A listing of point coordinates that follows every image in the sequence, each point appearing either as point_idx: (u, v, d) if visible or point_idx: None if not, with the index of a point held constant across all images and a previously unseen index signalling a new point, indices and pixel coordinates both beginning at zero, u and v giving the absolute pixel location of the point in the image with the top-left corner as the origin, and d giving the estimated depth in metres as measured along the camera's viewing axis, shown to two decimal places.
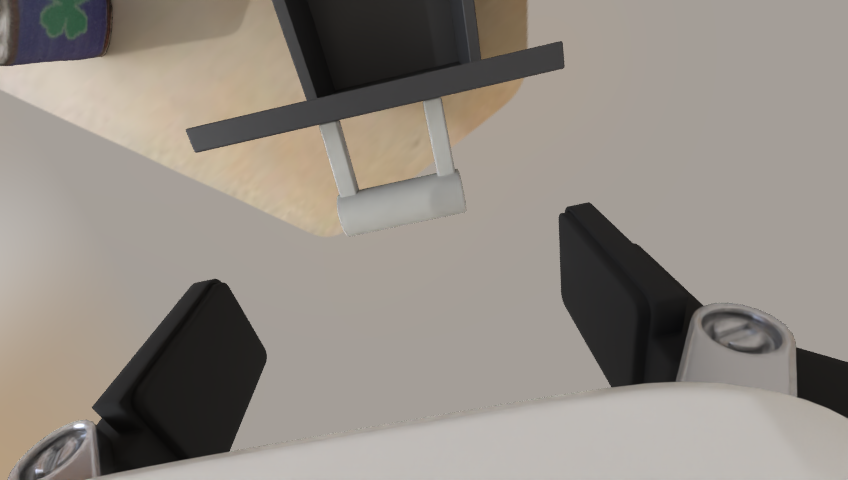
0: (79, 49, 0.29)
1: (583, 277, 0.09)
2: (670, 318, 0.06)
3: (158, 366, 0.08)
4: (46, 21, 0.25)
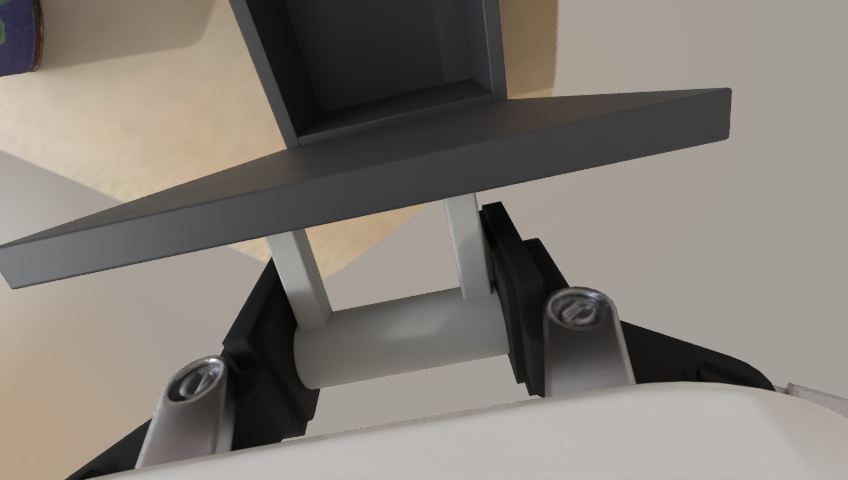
0: None
1: (490, 268, 0.10)
2: (533, 300, 0.07)
3: (269, 312, 0.08)
4: None
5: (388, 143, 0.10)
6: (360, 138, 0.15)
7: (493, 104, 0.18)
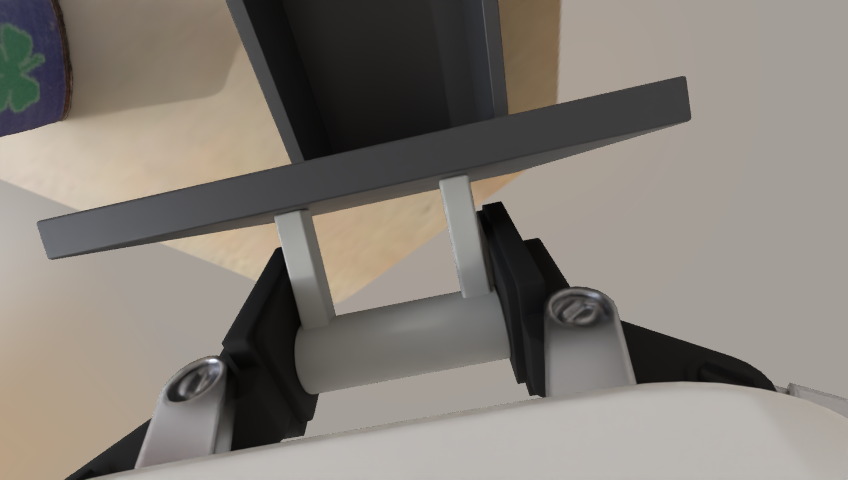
0: (31, 120, 0.24)
1: (490, 268, 0.10)
2: (533, 300, 0.07)
3: (268, 312, 0.08)
4: None
5: None
6: None
7: None
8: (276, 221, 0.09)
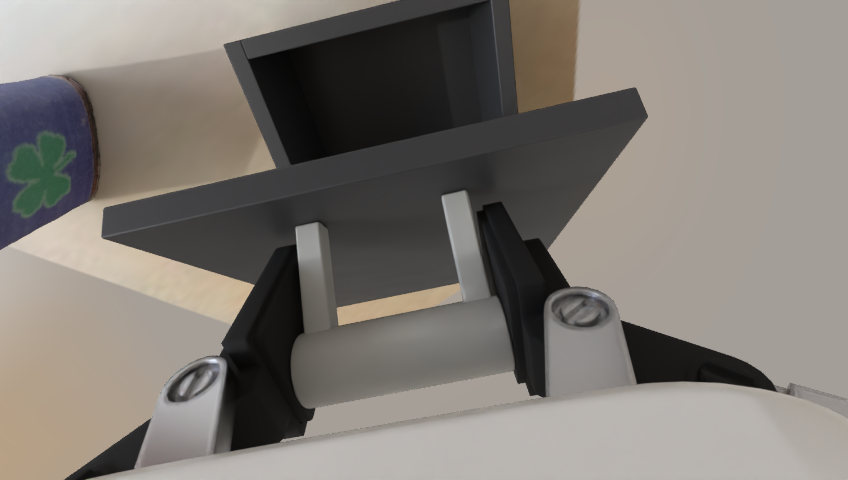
0: (62, 209, 0.25)
1: (490, 268, 0.10)
2: (534, 300, 0.07)
3: (268, 312, 0.08)
4: (20, 206, 0.21)
5: None
6: None
7: None
8: (296, 230, 0.10)
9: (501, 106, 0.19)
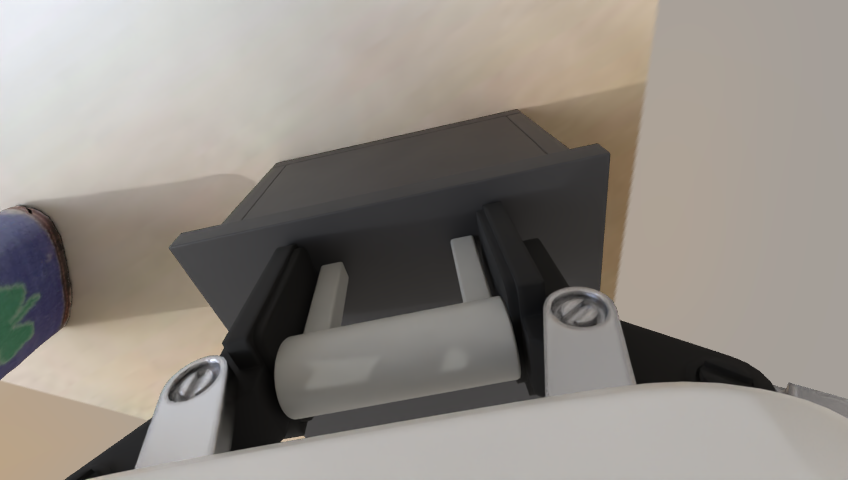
0: (25, 355, 0.21)
1: (490, 268, 0.10)
2: (533, 300, 0.07)
3: (269, 312, 0.08)
4: None
5: None
6: None
7: None
8: (321, 267, 0.11)
9: None
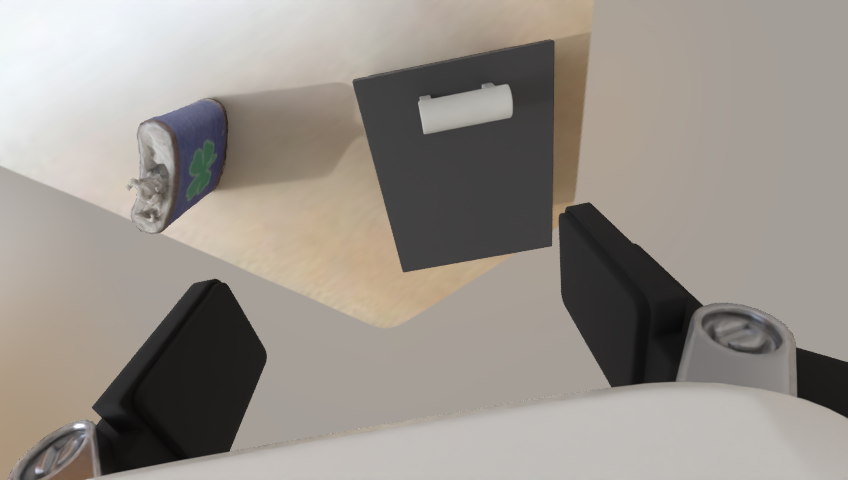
0: (201, 196, 0.34)
1: (583, 277, 0.09)
2: (670, 318, 0.06)
3: (158, 366, 0.08)
4: (189, 192, 0.30)
5: None
6: None
7: None
8: (420, 96, 0.24)
9: None
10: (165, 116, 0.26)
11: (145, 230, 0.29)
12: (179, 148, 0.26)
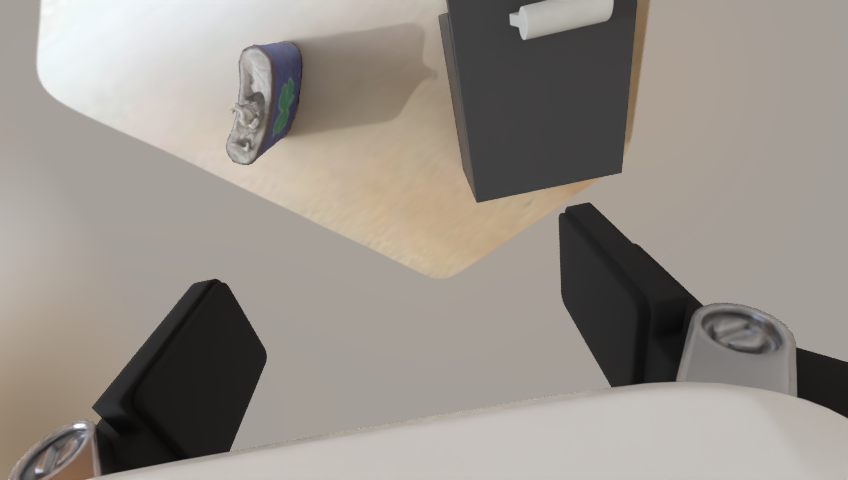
0: (278, 138, 0.35)
1: (583, 277, 0.09)
2: (670, 318, 0.06)
3: (158, 366, 0.08)
4: (275, 127, 0.32)
5: None
6: None
7: None
8: (510, 13, 0.25)
9: None
10: (262, 46, 0.28)
11: (238, 160, 0.30)
12: (275, 76, 0.28)
